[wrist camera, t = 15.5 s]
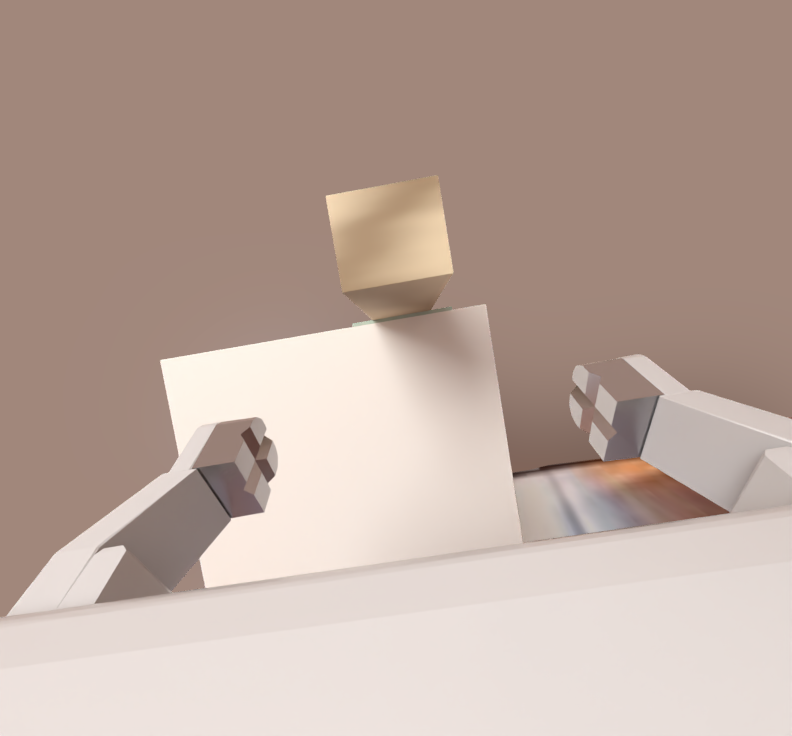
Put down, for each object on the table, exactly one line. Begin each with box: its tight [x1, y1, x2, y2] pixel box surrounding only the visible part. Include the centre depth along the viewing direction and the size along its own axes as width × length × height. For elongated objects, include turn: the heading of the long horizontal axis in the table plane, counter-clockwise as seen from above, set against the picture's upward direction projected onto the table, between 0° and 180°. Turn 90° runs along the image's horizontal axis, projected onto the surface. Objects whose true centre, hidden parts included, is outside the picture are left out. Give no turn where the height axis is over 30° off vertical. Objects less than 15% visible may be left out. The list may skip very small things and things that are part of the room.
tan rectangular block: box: [326, 175, 453, 320], centre depth 23 cm, size 4×24×3 cm, turn 179°
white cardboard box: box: [160, 304, 523, 588], centre depth 29 cm, size 20×14×26 cm
